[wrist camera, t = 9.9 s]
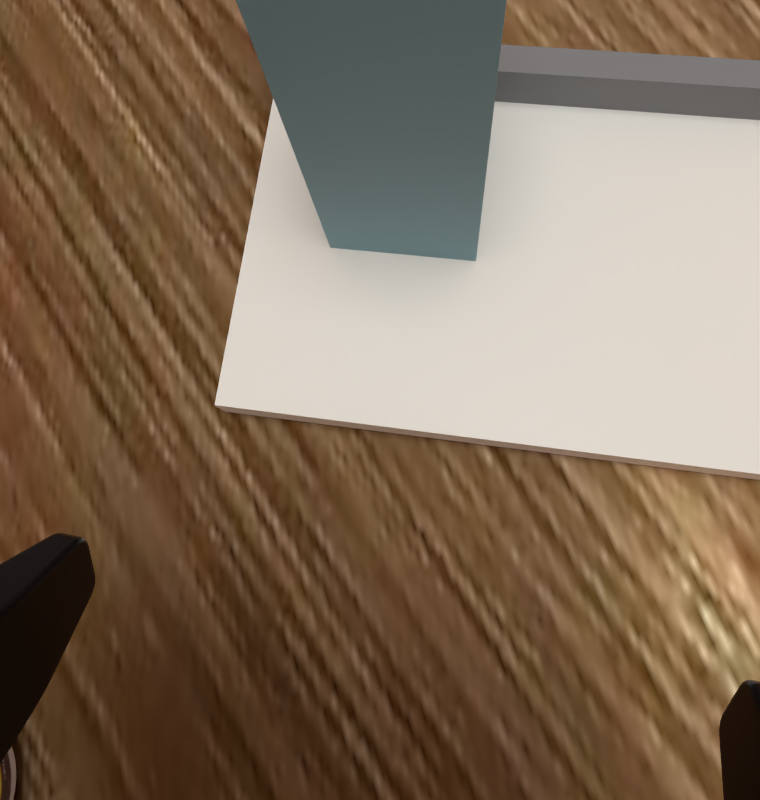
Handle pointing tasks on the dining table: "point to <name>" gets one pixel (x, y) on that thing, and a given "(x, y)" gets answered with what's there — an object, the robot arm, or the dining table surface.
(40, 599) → the robot arm
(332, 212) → the carton
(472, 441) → the white base plate
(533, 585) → the dining table surface
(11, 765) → the supplement bottle
